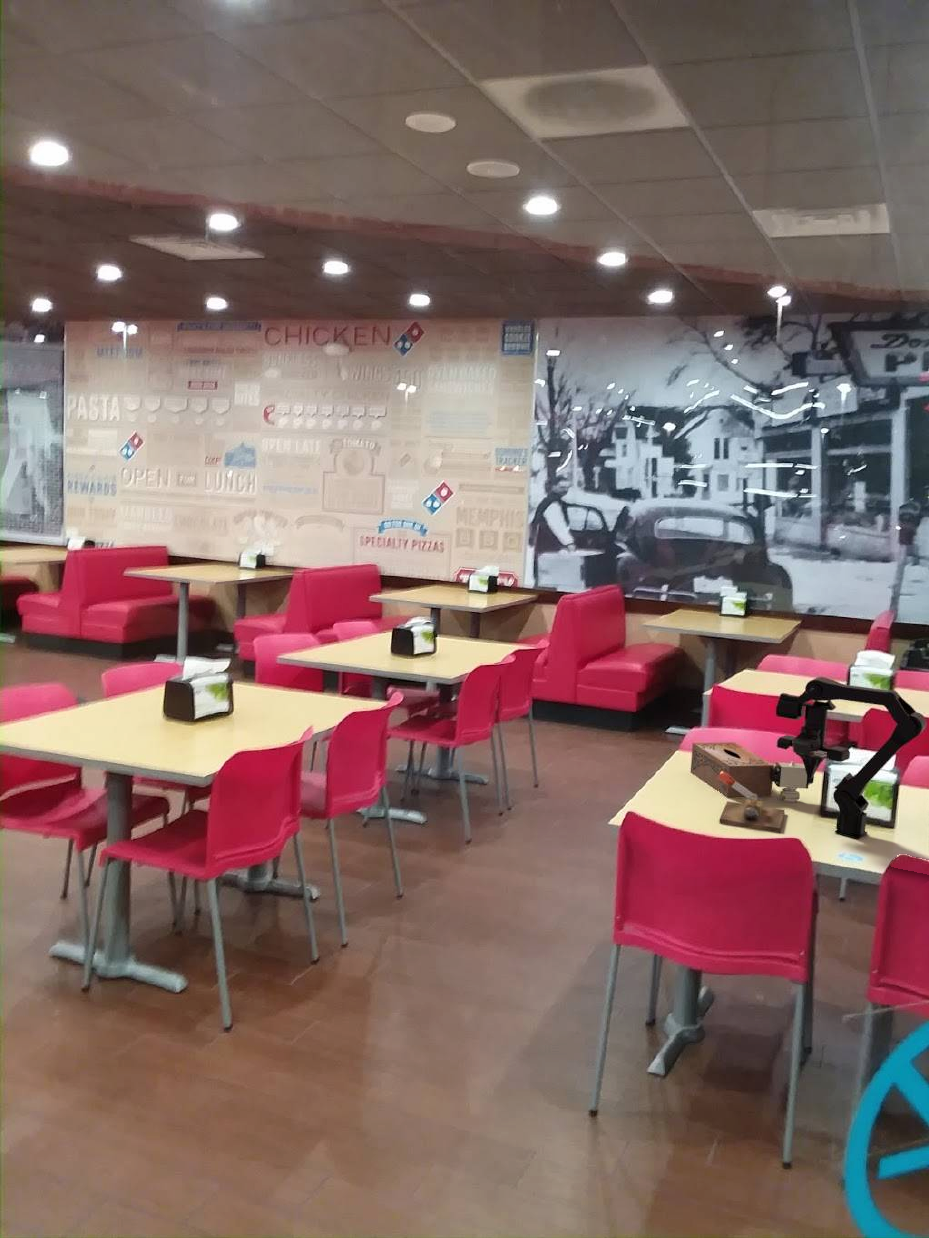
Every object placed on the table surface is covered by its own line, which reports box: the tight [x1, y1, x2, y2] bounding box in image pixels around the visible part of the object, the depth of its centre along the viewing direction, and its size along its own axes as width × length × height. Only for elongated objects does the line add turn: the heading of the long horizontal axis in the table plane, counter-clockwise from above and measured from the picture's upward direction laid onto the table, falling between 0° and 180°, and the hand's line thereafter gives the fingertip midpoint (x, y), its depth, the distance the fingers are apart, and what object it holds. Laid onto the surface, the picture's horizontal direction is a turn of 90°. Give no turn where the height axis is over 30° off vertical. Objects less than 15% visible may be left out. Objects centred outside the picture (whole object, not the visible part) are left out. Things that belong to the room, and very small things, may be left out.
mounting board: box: [718, 801, 785, 833], centre depth 287 cm, size 16×17×1 cm
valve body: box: [743, 794, 763, 821], centre depth 287 cm, size 4×12×6 cm, turn 159°
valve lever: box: [718, 771, 758, 801], centre depth 288 cm, size 3×3×12 cm
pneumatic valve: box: [770, 761, 815, 803], centre depth 304 cm, size 6×12×12 cm, turn 87°
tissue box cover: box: [690, 741, 775, 799], centre depth 318 cm, size 26×14×10 cm, turn 12°
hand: (809, 778), depth 283 cm, fingers closed
